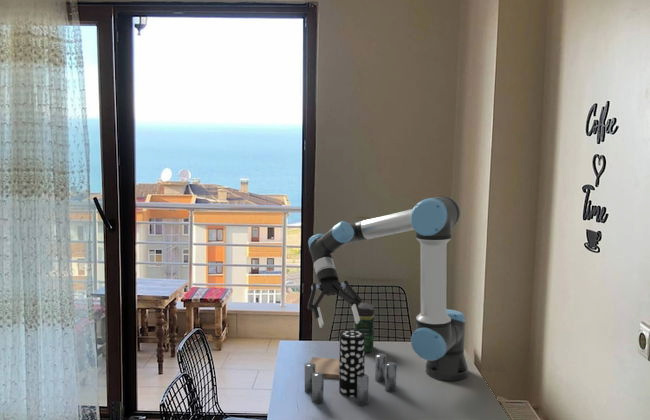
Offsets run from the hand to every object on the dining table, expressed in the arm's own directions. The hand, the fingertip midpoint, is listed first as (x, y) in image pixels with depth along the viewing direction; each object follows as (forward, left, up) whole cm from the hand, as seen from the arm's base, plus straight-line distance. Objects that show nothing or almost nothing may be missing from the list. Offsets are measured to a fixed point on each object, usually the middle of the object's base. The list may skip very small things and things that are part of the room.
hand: (340, 324), depth 188 cm
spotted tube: (-5, +9, -20) cm, 23 cm away
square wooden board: (+6, -7, -20) cm, 22 cm away
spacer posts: (-5, +9, -20) cm, 23 cm away
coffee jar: (-5, -30, -20) cm, 36 cm away
